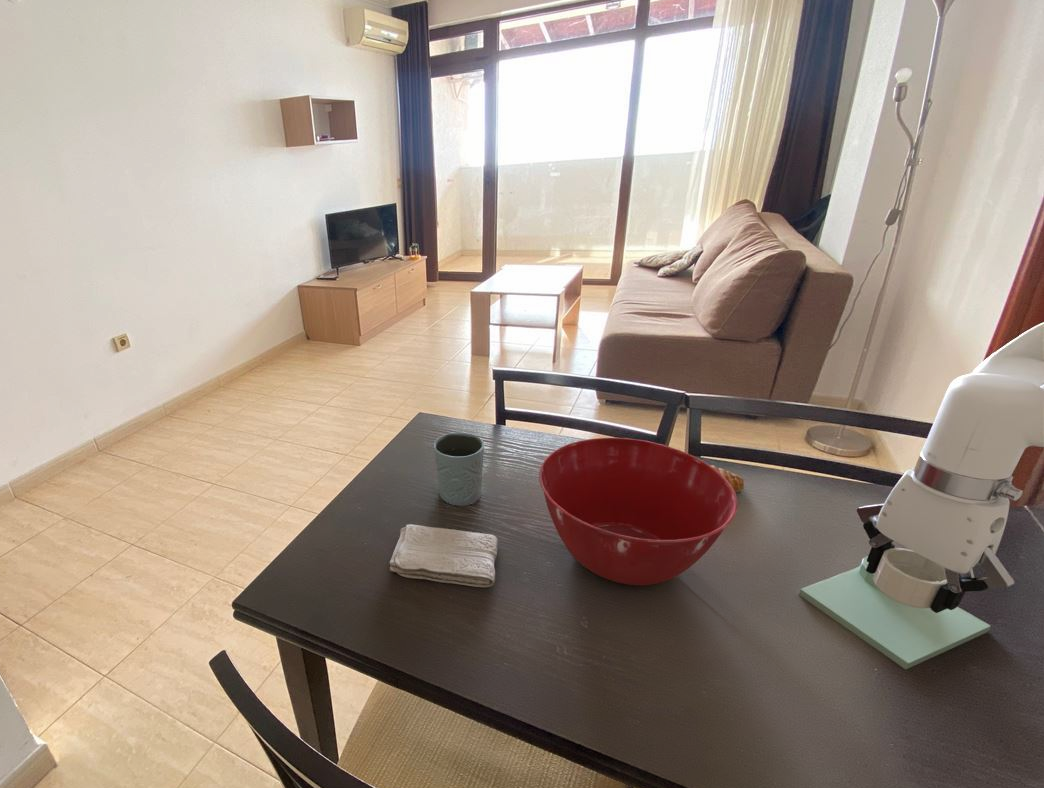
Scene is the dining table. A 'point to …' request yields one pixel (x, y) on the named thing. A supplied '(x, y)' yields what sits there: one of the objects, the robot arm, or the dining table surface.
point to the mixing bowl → (635, 507)
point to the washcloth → (445, 556)
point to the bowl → (909, 577)
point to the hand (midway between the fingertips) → (907, 587)
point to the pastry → (732, 479)
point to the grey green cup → (459, 467)
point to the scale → (891, 618)
